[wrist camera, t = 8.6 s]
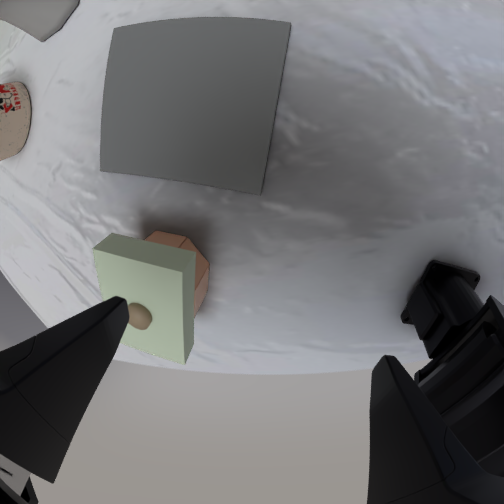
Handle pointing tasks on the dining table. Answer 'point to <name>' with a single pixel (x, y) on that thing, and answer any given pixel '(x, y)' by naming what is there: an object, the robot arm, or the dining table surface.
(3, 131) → the teacup with lid
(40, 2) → the flask
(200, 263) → the bowl
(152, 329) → the lid
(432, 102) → the dining table surface
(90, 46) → the dining table surface
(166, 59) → the mat
